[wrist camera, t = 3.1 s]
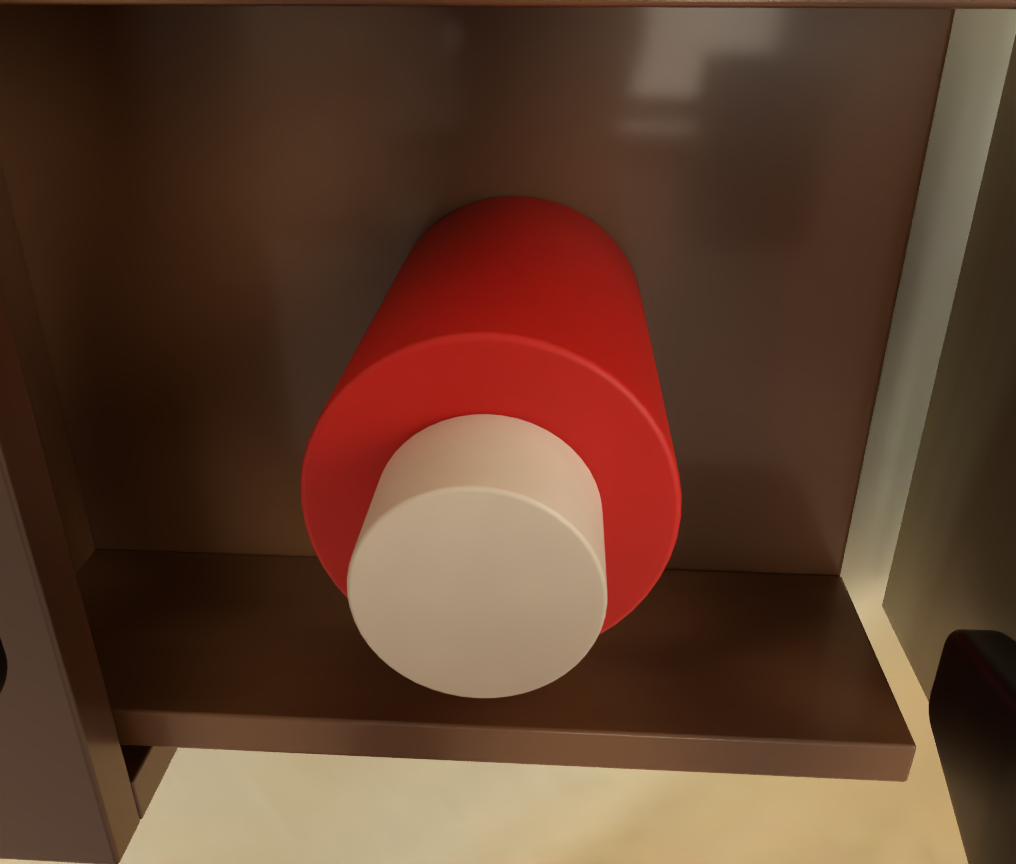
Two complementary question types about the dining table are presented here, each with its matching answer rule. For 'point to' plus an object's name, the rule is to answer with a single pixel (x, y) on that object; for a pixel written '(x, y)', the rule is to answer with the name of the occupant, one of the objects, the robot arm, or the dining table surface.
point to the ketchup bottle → (496, 454)
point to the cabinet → (54, 671)
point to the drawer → (368, 277)
